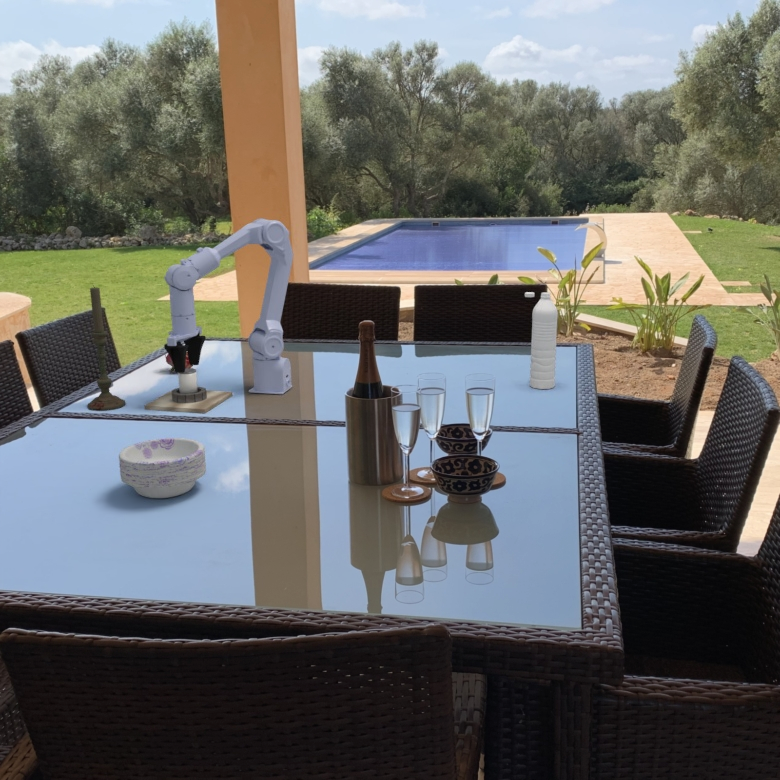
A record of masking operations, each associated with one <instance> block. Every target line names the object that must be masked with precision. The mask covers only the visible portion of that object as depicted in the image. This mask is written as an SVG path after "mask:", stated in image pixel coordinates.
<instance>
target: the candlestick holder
mask: <svg viewBox="0 0 780 780" xmlns="http://www.w3.org/2000/svg"><path fill="white" fill-rule="evenodd" d="M92 286H93V287H91V288H89V292H90V293H89V294H90V302H91V311H92V322H93V329H94V331H92V332H91V333H90V335H91V336H92V337H93V339H92V343H93V344H94V346H96V347H97V352H96V357H97V359H98V366H99V367H98V369H99V372H100V375H99V377H98V379H97V380H96V383H97V386H98V388H99V389H100V393H99V395H98V396H97V397H94V398H93V399H92V400H91V401H89V402H88V403H87V406H86V407H87V409H89V410H90V411H95V412H98V411H99V412H100V411H101V412H106V411H112V410H118V409H120V408H123V407H124V406H126V404H127V403H126V400H125V399H123V398H120V397H119V396H118V395H115V394H113V393H112V392H110V387H111V386H112V382H113V381H112V379H111V378H110V377H108V374H107V366H106V365H107V363H106V357H107V354H106V349H105V345H106V344H108V339H107V335H108V331H107V330H105V328H104V320H103V311H102V300H101V299H102V298H101V291H100V287H95V286H94V285H92Z"/></svg>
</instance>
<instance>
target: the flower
mask: <svg viewBox="0 0 780 780" xmlns="http://www.w3.org/2000/svg"><path fill="white" fill-rule="evenodd" d="M163 354H164V358H165V362H166V363H167V364H168V365H169V366H171V368H170V370H169V373H171V374H173V372H174V371H175V368H174V365H173V362H172V360H171V358H170V356H169V354H168V353H167V354H166V353H165V352H163ZM193 367H194V365H190V363H189V359H188V353H186V361H185V369H192V368H193Z"/></svg>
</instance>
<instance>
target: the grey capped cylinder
mask: <svg viewBox="0 0 780 780" xmlns="http://www.w3.org/2000/svg"><path fill="white" fill-rule="evenodd" d="M177 375H178V378H177V379H178V388H179V391H180V394H193V393H198V389H197V387H198V378H197V369H195V368H190V369H185V372H184V373H178V372H177Z"/></svg>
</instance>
